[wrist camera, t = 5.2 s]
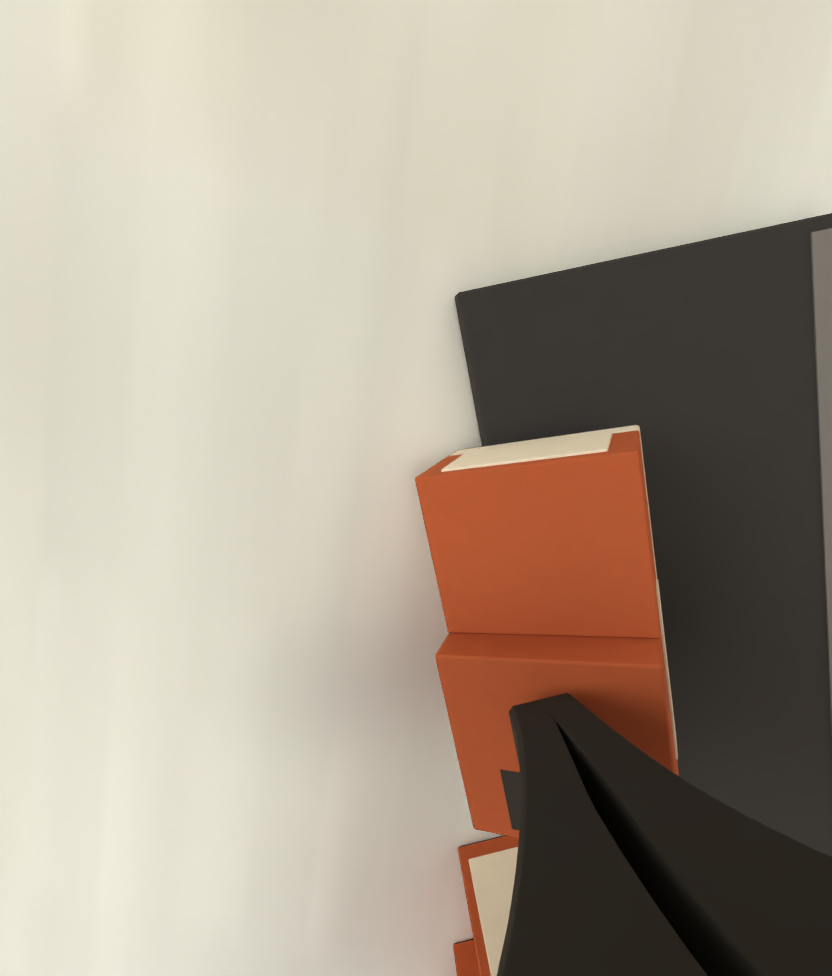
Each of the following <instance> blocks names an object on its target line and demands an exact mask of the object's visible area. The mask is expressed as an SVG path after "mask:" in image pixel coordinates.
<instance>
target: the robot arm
mask: <svg viewBox="0 0 832 976" xmlns="http://www.w3.org/2000/svg"><path fill="white" fill-rule="evenodd" d="M509 717H510V722H511V727H512V732H513V737H514V742H515V747H516V752H517V757H518V762H519V767H520V826H519V841H518V853H517V862H516V872H515V879H514V886H513V893H512V900H511V907H510V913H509V919H508V924H507V930H506V934H505V939H504V944H503V948H502V953H501V958H500V962H499V967H498V972H497V976H832V857H831V856H829V855H827V854H824V853H822V852H820V851H817V850H815V849H813V848H811V847H809V846H807V845H805V844H802V843H800V842H798V841H796V840H794V839H792V838H790V837H788V836H786V835H784V834H782V833H779V832H777V831H775V830H773V829H771V828H769V827H767V826H765V825H763V824H761V823H759V822H757V821H755V820H753V819H751V818H749V817H748V816H746V815H744V814H742V813H740V812H738V811H737V810H735V809H733V808H731V807H729V806H728V805H726V804H724V803H722V802H721V801H719V800H717V799H715V798H713V797H712V796H710V795H708V794H707V793H705V792H703V791H702V790H700V789H698V788H697V787H695V786H694V785H692V784H690V783H689V782H687V781H686V780H684V779H683V778H681V777H680V776H678V775H676V774H675V773H673V772H672V771H670V770H669V769H667V768H666V767H664V766H663V765H661V764H660V763H659V762H657V761H656V760H654V759H653V758H651V757H650V756H648V755H647V754H646V753H644V752H643V751H642V750H640V749H639V748H638V747H636V746H635V745H633V744H632V743H631V742H629V741H628V740H627V739H625V738H624V737H623V736H621V735H620V734H619V733H617V732H616V731H615V730H613V729H612V728H611V727H610V726H608V725H607V724H606V723H604V722H603V721H602V720H601V719H599V718H598V717H597V716H596V715H595V714H593V713H592V712H591V711H590V710H588V709H587V708H586V707H585V706H584V705H582V704H581V703H580V702H579V701H578V700H576V699H575V698H574V697H573V696H571V695H570V694H568V693H564V694H560V695H556V696H552V697H548V698H543V699H539V700H535V701H531V702H527V703H523V704H519V705H515V706H512V708H511V709H510V710H509Z"/></svg>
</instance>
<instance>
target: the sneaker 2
mask: <svg viewBox="0 0 832 976" xmlns="http://www.w3.org/2000/svg"><path fill="white" fill-rule="evenodd" d="M415 481H416V486H417V491H418V495H419V500H420V504H421V509H422V514H423V518H424V523H425V528H426V532H427V537H428V541H429V546H430V551H431V555H432V560H433V565H434V569H435V574H436V578H437V583H438V588H439V592H440V597H441V602H442V606H443V611H444V615H445V620H446V625H447V629H448V632H449V634H448V636H447V637H446V639H445V641H444V642H443V644H442V645H441V647H440V649H439V650H438V652H437V653H436V656H435V658H436V662H437V667H438V671H439V676H440V680H441V684H442V689H443V693H444V698H445V702H446V707H447V711H448V716H449V720H450V724H451V729H452V733H453V738H454V742H455V747H456V751H457V756H458V760H459V765H460V769H461V773H462V778H463V782H464V787H465V791H466V796H467V800H468V805H469V809H470V813H471V818H472V822H473V827H474V828H475V829H477V830H482V831H487V832H492V833H497V834H502V835H507V836H511V837H516V838H519V826H520V767H519V762H518V757H517V752H516V747H515V742H514V737H513V732H512V727H511V722H510V717H509V710H510V709H511V708H512V706H515V705H519V704H523V703H527V702H531V701H535V700H539V699H543V698H548V697H552V696H556V695H560V694H564V693H568V694H570V695H571V696H573V697H574V698H575V699H576V700H578V701H579V702H580V703H581V704H582V705H584V706H585V707H586V708H587V709H588V710H590V711H591V712H592V713H593V714H595V715H596V716H597V717H598V718H599V719H601V720H602V721H603V722H604V723H606V724H607V725H608V726H610V727H611V728H612V729H613V730H615V731H616V732H617V733H619V734H620V735H621V736H623V737H624V738H625V739H627V740H628V741H629V742H631V743H632V744H633V745H635V746H636V747H638V748H639V749H640V750H642V751H643V752H644V753H646V754H647V755H648V756H650V757H651V758H653V759H654V760H656V761H657V762H659V763H660V764H661V765H663V766H664V767H666V768H667V769H669V770H670V771H672V772H673V773H675V774H676V775H678V776H679V772H678V760H677V759H678V751H677V740H676V730H675V722H674V713H673V704H672V696H671V687H670V678H669V670H668V661H667V652H666V644H665V635H664V626H663V618H662V609H661V600H660V592H659V583H658V579H657V573H656V564H655V556H654V547H653V538H652V530H651V521H650V513H649V504H648V495H647V487H646V478H645V469H644V461H643V452H642V444H641V435H640V427H639V426H638V425H633V426H626V427H618V428H611V429H604V430H597V431H590V432H583V433H576V434H569V435H562V436H555V437H548V438H541V439H534V440H527V441H519V442H512V443H505V444H498V445H491V446H484V447H477V448H470V449H463V450H458V451H456V452H455V453H453V454H451V455H450V456H448V457H446V458H445V459H443V460H442V461H440V462H439V463H437V464H436V465H434V466H433V467H431V468H430V469H428V470H427V471H425V472H424V473H422V474H421V475H419V476H418V477H416V478H415Z"/></svg>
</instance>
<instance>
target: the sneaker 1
mask: <svg viewBox="0 0 832 976" xmlns="http://www.w3.org/2000/svg"><path fill="white" fill-rule="evenodd" d="M518 841H519V838H516V837H511V836H507V835H506V836H502V837H498V838H494V839H490V840H486V841H482V842H478V843H474V844H470V845H466V846H462V847H459V848H458V853H459V858H460V864H461V870H462V875H463V881H464V887H465V892H466V898H467V904H468V909H469V915H470V921H471V926H472V932H473V937H474V939H473V940H469V941H465V942H461V943H457V944H454V946H453V948H454V955H455V962H456V970H457V976H497V972H498V967H499V962H500V958H501V953H502V948H503V944H504V939H505V934H506V930H507V924H508V919H509V913H510V907H511V900H512V893H513V886H514V879H515V872H516V862H517V853H518Z"/></svg>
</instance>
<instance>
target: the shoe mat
mask: <svg viewBox="0 0 832 976" xmlns="http://www.w3.org/2000/svg"><path fill="white" fill-rule="evenodd" d="M455 302H456V307H457V313H458V318H459V323H460V329H461V334H462V340H463V345H464V350H465V356H466V361H467V367H468V372H469V377H470V383H471V388H472V393H473V399H474V404H475V410H476V415H477V420H478V426H479V431H480V437H481V442H482V447H484V446H491V445H498V444H505V443H512V442H519V441H527V440H534V439H541V438H548V437H555V436H562V435H569V434H576V433H583V432H590V431H597V430H604V429H611V428H618V427H626V426H633V425H638V426H639V427H640V435H641V444H642V452H643V461H644V469H645V478H646V487H647V495H648V504H649V513H650V521H651V530H652V538H653V547H654V556H655V564H656V573H657V579H658V583H659V592H660V600H661V609H662V618H663V626H664V635H665V644H666V652H667V661H668V670H669V678H670V687H671V696H672V704H673V713H674V722H675V730H676V740H677V751H678V759H677V760H678V772H679V776H680V777H681V778H683V779H684V780H686V781H687V782H689V783H690V784H692V785H694V786H695V787H697V788H698V789H700V790H702V791H703V792H705V793H707V794H708V795H710V796H712V797H713V798H715V799H717V800H719V801H721V802H722V803H724V804H726V805H728V806H729V807H731V808H733V809H735V810H737V811H738V812H740V813H742V814H744V815H746V816H748V817H749V818H751V819H753V820H755V821H757V822H759V823H761V824H763V825H765V826H767V827H769V828H771V829H773V830H775V831H777V832H779V833H782V834H784V835H786V836H788V837H790V838H792V839H794V840H796V841H798V842H800V843H802V844H805V845H807V846H809V847H811V848H813V849H815V850H817V851H820V852H822V853H824V854H827V855H829V856H831V857H832V213H831V214H826V215H821V216H817V217H812V218H807V219H803V220H798V221H793V222H789V223H784V224H779V225H774V226H770V227H765V228H760V229H756V230H751V231H746V232H742V233H737V234H732V235H727V236H723V237H718V238H713V239H709V240H704V241H699V242H694V243H690V244H685V245H680V246H676V247H671V248H666V249H662V250H657V251H652V252H647V253H643V254H638V255H633V256H629V257H624V258H619V259H615V260H610V261H605V262H600V263H596V264H591V265H586V266H582V267H577V268H572V269H568V270H563V271H558V272H553V273H549V274H544V275H539V276H535V277H530V278H525V279H520V280H516V281H511V282H506V283H502V284H497V285H492V286H488V287H483V288H478V289H473V290H469V291H464V292H459V293H458V294H457V295H456V296H455Z"/></svg>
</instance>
